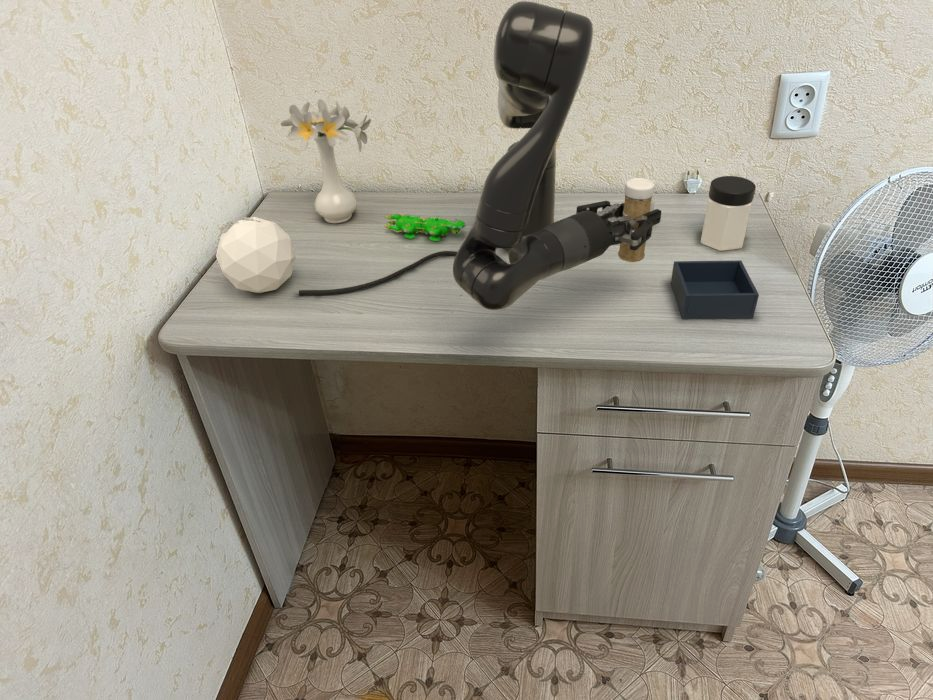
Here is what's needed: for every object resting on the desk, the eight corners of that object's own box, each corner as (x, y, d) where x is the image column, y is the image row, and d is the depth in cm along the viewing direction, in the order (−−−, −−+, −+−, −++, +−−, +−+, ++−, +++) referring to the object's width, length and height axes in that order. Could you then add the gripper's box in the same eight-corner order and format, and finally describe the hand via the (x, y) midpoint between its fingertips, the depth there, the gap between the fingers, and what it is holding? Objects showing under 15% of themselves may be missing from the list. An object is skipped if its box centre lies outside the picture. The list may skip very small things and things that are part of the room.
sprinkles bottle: (642, 264, 115) (653, 190, 107) (615, 261, 116) (623, 187, 108) (645, 251, 118) (656, 178, 110) (619, 248, 120) (627, 175, 111)
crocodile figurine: (462, 245, 140) (460, 226, 138) (380, 237, 145) (377, 219, 142) (470, 230, 145) (469, 212, 143) (391, 223, 150) (389, 205, 147)
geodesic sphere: (195, 289, 120) (229, 222, 115) (198, 251, 131) (229, 188, 126) (275, 318, 128) (311, 257, 123) (272, 280, 139) (304, 222, 134)
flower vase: (379, 228, 148) (363, 112, 133) (295, 232, 149) (269, 116, 134) (384, 202, 159) (370, 91, 143) (305, 205, 159) (283, 96, 144)
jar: (753, 241, 136) (767, 184, 128) (729, 256, 132) (741, 198, 124) (714, 226, 141) (725, 171, 134) (690, 239, 137) (700, 183, 130)
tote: (682, 319, 116) (686, 295, 113) (670, 284, 125) (673, 261, 122) (753, 318, 115) (759, 294, 112) (736, 283, 124) (741, 260, 121)
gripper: (605, 237, 99) (685, 203, 107) (541, 204, 109) (618, 175, 116) (601, 281, 104) (678, 246, 111) (540, 246, 113) (614, 215, 121)
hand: (647, 210), depth 114 cm, fingers closed on sprinkles bottle, 4 cm apart
